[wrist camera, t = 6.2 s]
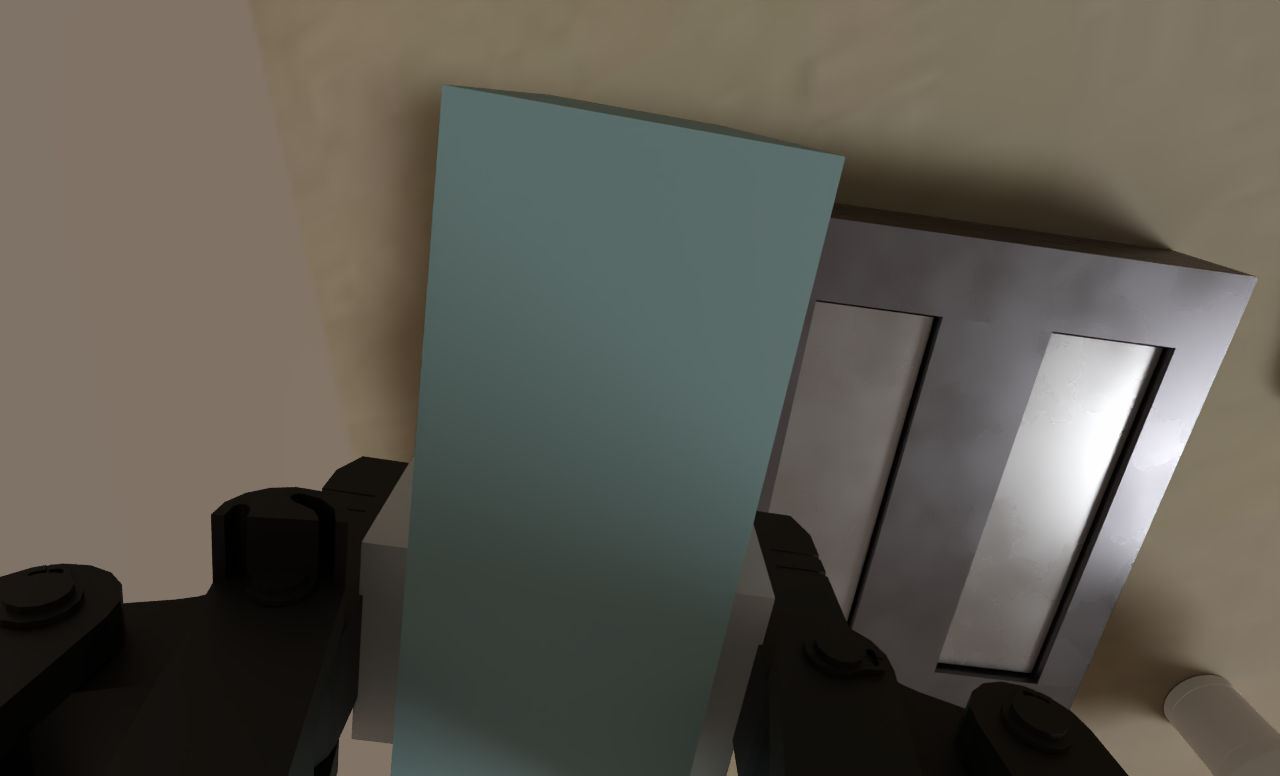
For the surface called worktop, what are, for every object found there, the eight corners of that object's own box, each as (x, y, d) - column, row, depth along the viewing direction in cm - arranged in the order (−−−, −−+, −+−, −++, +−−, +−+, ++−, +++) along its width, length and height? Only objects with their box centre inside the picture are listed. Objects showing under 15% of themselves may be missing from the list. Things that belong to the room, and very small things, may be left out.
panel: (549, 95, 13) (441, 83, 6) (722, 126, 13) (844, 156, 6) (481, 663, 17) (366, 1100, 10) (614, 680, 17) (603, 1120, 10)
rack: (544, 162, 26) (524, 178, 22) (1174, 251, 27) (1273, 282, 23) (506, 608, 33) (485, 686, 29) (1011, 666, 34) (1064, 751, 29)
